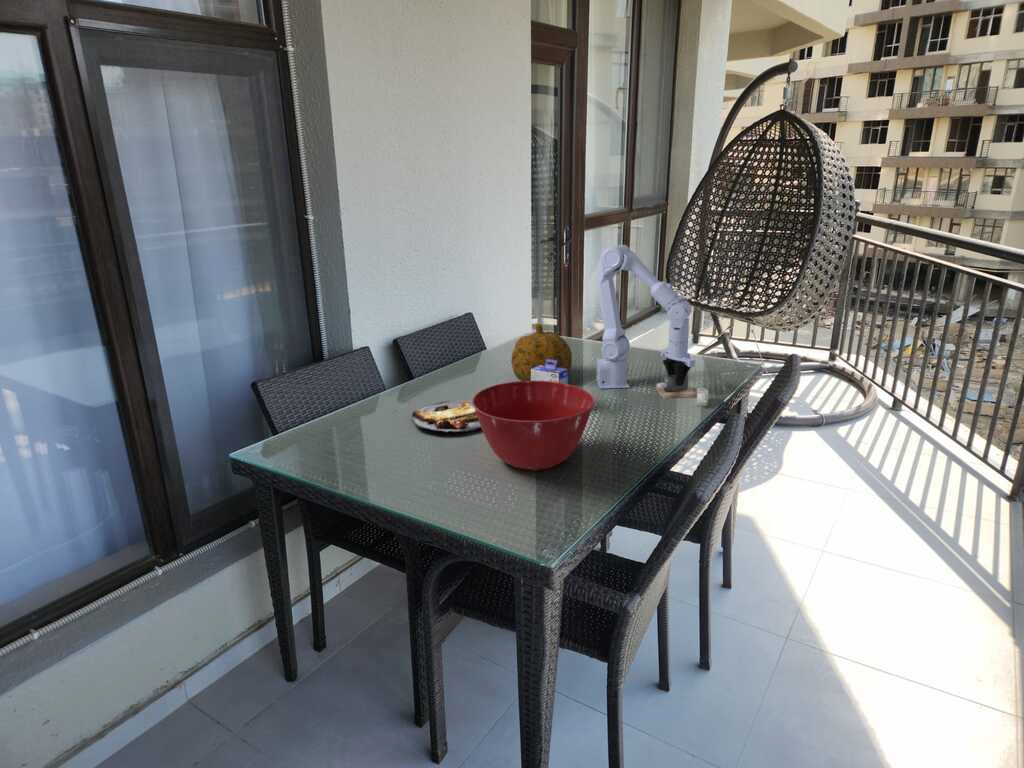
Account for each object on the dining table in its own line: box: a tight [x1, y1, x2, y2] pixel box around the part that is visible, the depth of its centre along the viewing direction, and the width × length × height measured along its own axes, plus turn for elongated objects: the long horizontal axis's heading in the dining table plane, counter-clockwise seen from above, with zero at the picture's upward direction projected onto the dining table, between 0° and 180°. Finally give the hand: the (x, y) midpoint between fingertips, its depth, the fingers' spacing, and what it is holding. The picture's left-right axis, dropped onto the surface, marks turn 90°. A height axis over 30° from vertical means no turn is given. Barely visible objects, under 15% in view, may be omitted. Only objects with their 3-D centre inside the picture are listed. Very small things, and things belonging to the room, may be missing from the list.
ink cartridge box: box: [531, 359, 569, 384], centre depth 186 cm, size 10×6×14 cm, turn 55°
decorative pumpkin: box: [510, 323, 573, 381], centre depth 212 cm, size 20×21×20 cm
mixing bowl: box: [471, 380, 595, 471], centre depth 152 cm, size 28×28×15 cm
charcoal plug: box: [656, 374, 689, 391], centre depth 197 cm, size 10×3×4 cm, turn 112°
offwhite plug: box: [695, 387, 709, 408], centre depth 188 cm, size 9×3×4 cm, turn 167°
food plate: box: [410, 399, 482, 434], centre depth 180 cm, size 25×23×4 cm
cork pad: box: [655, 384, 697, 399], centre depth 198 cm, size 10×10×1 cm
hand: (676, 383), depth 198 cm, fingers closed on charcoal plug, 3 cm apart
